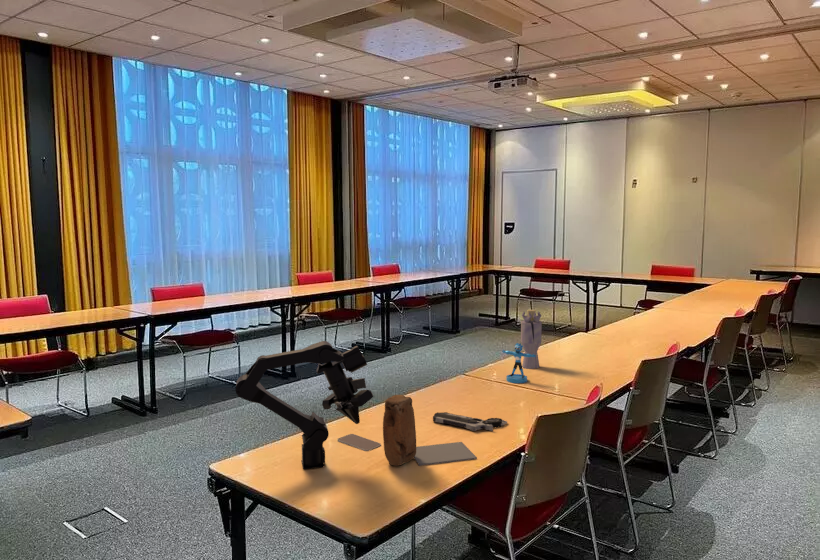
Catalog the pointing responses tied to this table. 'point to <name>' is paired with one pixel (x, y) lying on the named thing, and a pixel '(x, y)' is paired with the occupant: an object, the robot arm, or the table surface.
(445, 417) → the firearm
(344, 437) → the smartphone
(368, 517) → the table surface
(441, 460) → the mat
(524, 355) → the figurine
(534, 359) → the purple tower sculpture
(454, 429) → the table surface
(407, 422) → the brown pitted rounded part
